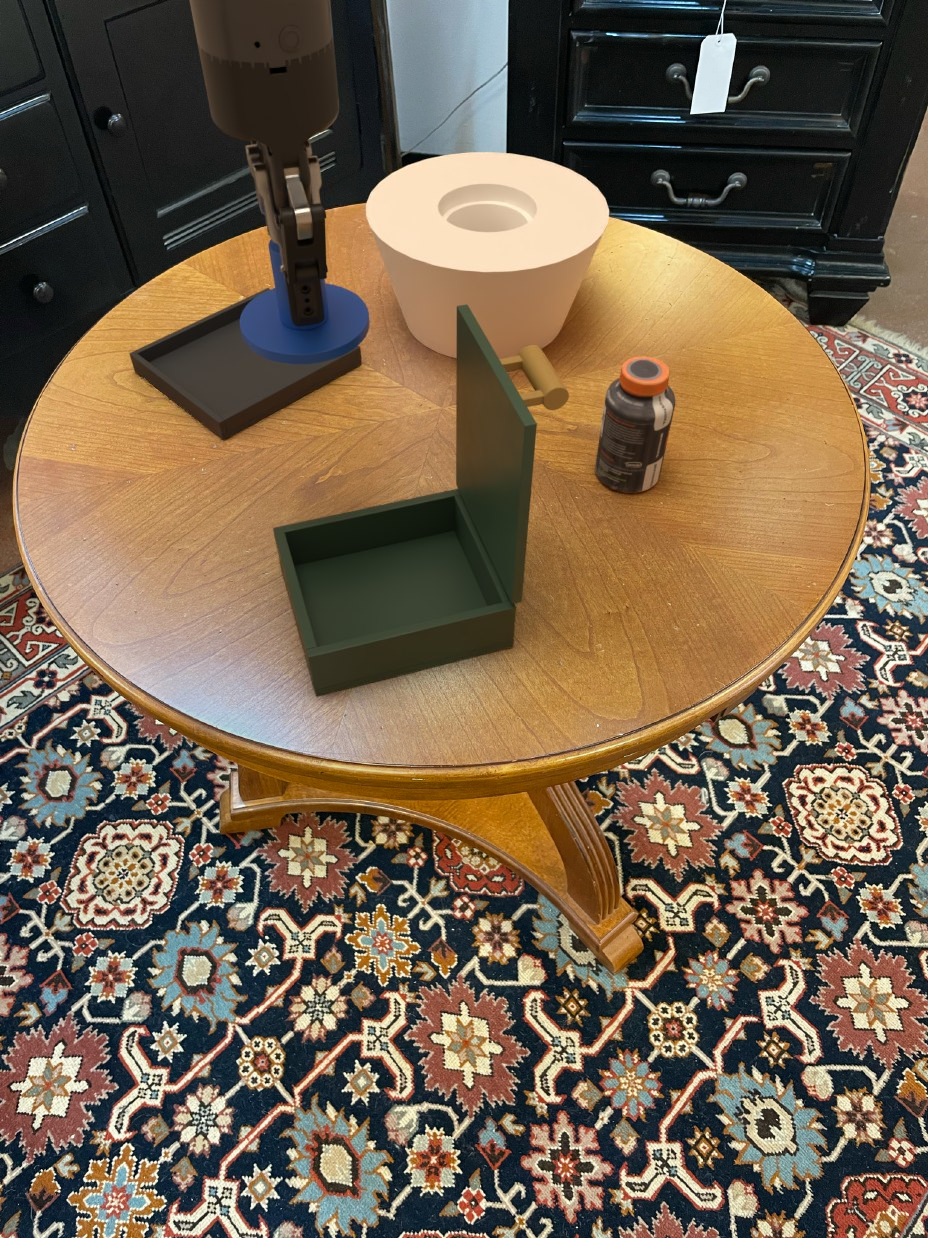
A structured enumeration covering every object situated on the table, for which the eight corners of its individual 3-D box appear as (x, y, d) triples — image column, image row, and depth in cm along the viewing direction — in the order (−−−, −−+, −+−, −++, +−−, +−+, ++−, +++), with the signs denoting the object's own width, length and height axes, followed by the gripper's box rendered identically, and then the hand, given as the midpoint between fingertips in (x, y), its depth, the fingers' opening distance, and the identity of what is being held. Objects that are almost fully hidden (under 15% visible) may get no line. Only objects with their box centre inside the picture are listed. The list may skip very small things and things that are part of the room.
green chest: (315, 696, 71) (308, 657, 67) (280, 568, 79) (272, 527, 75) (513, 647, 74) (516, 607, 70) (460, 528, 82) (460, 487, 79)
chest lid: (524, 426, 57) (598, 411, 58) (456, 305, 66) (522, 294, 67) (511, 604, 70) (572, 589, 71) (455, 484, 78) (511, 472, 79)
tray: (223, 440, 90) (219, 422, 88) (134, 370, 96) (128, 352, 95) (362, 364, 97) (360, 346, 96) (270, 304, 104) (267, 287, 103)
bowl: (515, 237, 114) (520, 133, 105) (640, 336, 101) (659, 228, 92) (334, 293, 106) (323, 186, 97) (446, 410, 93) (445, 299, 84)
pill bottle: (671, 485, 86) (696, 381, 77) (613, 502, 85) (631, 397, 76) (639, 445, 90) (659, 341, 81) (583, 460, 88) (597, 356, 80)
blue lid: (294, 381, 63) (280, 295, 59) (216, 325, 68) (197, 240, 63) (395, 327, 67) (391, 243, 63) (316, 277, 72) (306, 195, 67)
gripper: (181, -7, 57) (233, 262, 70) (213, 87, 48) (265, 374, 61) (306, -19, 58) (334, 247, 71) (359, 71, 49) (379, 355, 63)
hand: (302, 305), depth 66 cm, fingers closed on blue lid, 3 cm apart
